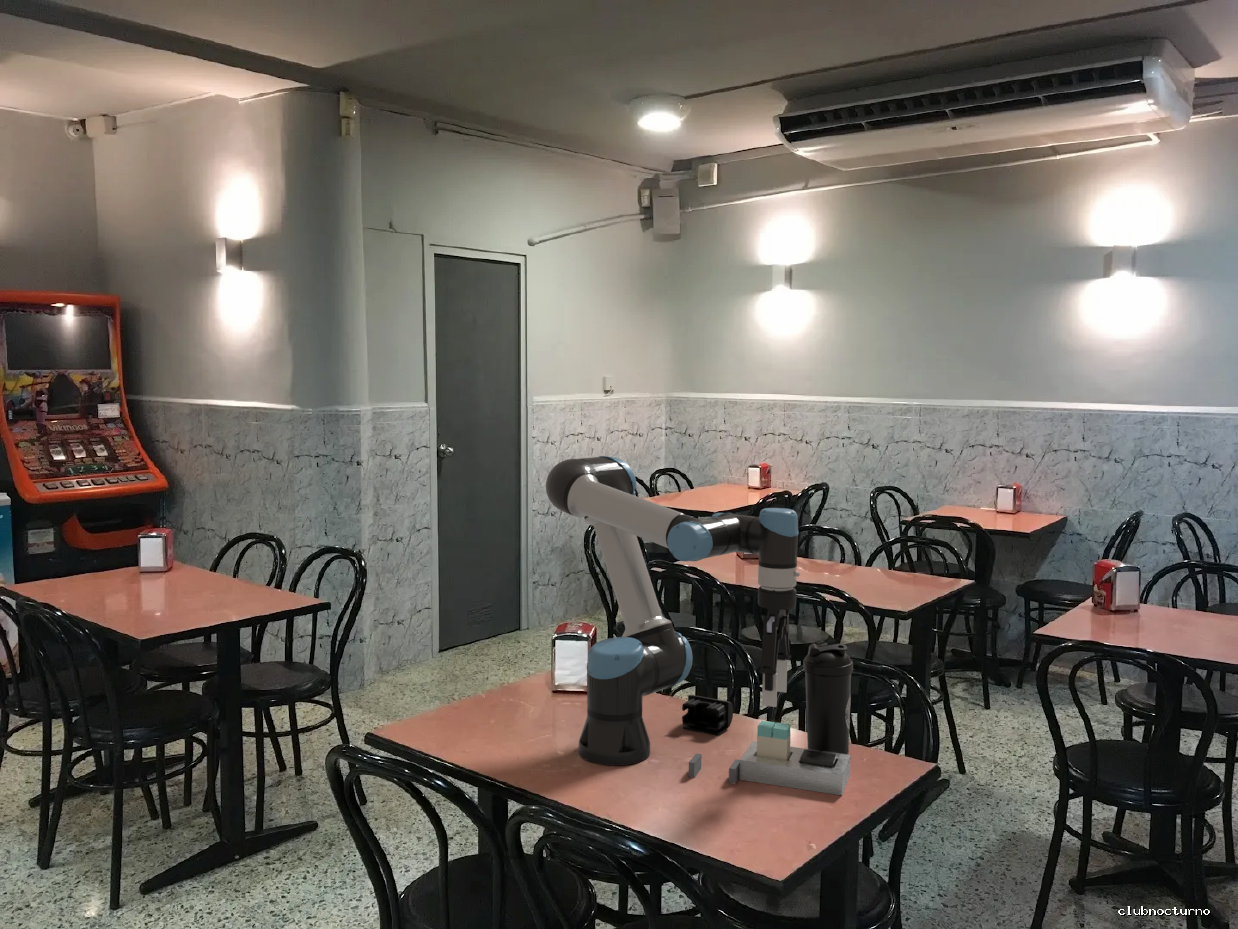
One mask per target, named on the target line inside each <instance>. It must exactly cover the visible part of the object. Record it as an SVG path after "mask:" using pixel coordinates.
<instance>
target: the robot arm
mask: <svg viewBox="0 0 1238 929" xmlns="http://www.w3.org/2000/svg"><path fill="white" fill-rule="evenodd" d="M636 489H637V479H636V476H635V473H634V471H633V469H632V468H631V466H630V465H629V464H628V463H627V462H626V461H625V460H623V459H621V458H619V457H616V456H607V455H599V456H598V457H597V456H594V457H585V458H584V457H583V458H581V457H580V458H569V459H565V460H562V461H561V462H558V463H557V464H556V465H554V466H553V467H552V468H551V469H550V472H549V473H548V475H547V477H546V481H545V492H546V495H547V498H548V500H549V502H550V503H551V504H552V505H553V506H554V507H555V508H556V509H557V510H559V511H560V512H563V513H565V514H568V515H570V516H573V517H575V518H581V519H582V518H584V519H583V520H584V522H585V523H587V524H589V525H591V526H592V527H593V529H594V531H595V535H596V537H597V541H598V544H599V548H600V550H601V553H602V556H603V560H604V563H605V566H606V569H607V573H608V576H609V580H610V583H611V585H612V589H613V591H614V595H615V599H616V601H617V604H618V608H619V611H620V614H621V618H622V620H623V624H624V627H625V629H624V632H623V633H622V636H618V637H617V636H616V637H615V638H613V637H609V638H606V639H602V640H600V641H597V642H595V643H594V644H593V645H592V646H591V647H590V649H589V650H588V655H587V656H588V657H587V664H586V673H587V674H586V679H587V680H586V682H587V683H586V685H587V686H586V689H587V690H586V693H587V694H586V695H587V698H586V699H587V700H586V701H587V702H586V705H587V709H586V713H587V714H586V719H585V722H584V725H583V728H582V730H581V734H580V736H579V739H578V755H579V756H580V757H581V758H582V759H584V760H585V761H587V762H590V763H594V764H598V765H606V766H624V765H632V764H636V763H640V762H642V761H644V760H646V759H647V758H649V756H650V755H651V740H650V737H649V733H648V731H647V728H646V724H645V722H644V718H643V697H645V696H649V695H651V694H655V693H657V692H661V691H663V690H667V689H670V688H673V687H674V686H676V685H678V684H680V683H681V682H683V681H684V680H686V678H687V677H688V675H689V674H690V670H691V669H692V666H693V651H692V647H691V644H690V643H689V641H688V639H687V638H686V637H685V636H683V635H682V633H680V632H677V631H675V629H674V626H673V623H672V621H671V620H670V619H667V618H665V617H664V616H663V614H662V610H661V608H660V605H659V601H658V599H657V595H656V592H655V590H654V586H653V583H652V580H651V577H650V573H649V570H648V568H647V564H646V561H645V557H644V556H643V552H642V549H641V546H640V543H639V540H638V537H639V538H641V539H643V540H647V541H649V542H651V543H654V544H657V545H659V546H661V547H664V548H667V549H668V550H669V552H670V553H671V554H672V556H673V557H674V559H676V560H678V561H680V562H698V561H701V560H703V559H708V558H713V557H717V556H719V557H720V556H722V555H729V554H734V553H745V554H752V555H758V567H757V568H758V570H757V584H758V585H759V587H758V588H757V604H758V606H759V607H761V608H763V609H766V610H767V616H766V615H765V617H764V620H763V622H762V642H761V645H762V646H761V658H760V660H761V661H760V668H759V669H758V673H759V674H762V688H761V689H762V696H761V697H762V698H761V699H762V700H761V703H762V704H761V705H762V706H763V707H771V708H772V707H773V708H777V706H778V705H777V704H778V701H777V700H778V693H785V694H786V693H787V689H788V688H787V687H788V686H787V684H788V660H789V661H790V660H792V654H790V652H791V650H790V620H789V619H790V610H792V609H794V608H796V605H797V589H796V588H795V587H796V586H797V577H800V576H801V573H800V572H799V571H797V570H798V568H797V566H798V561H797V560H798V541H799V540H798V539H799V523H798V520H799V518H798V513H797V512H796V511H795V510H793V509H792V508H791V509H790V508H785V507H784V508H783V507H765V508H763V509H761V510H760V512H759V515H758V516H752V515H745V514H744V515H743V514H737V513H733V512H716V513H713V514H712V515H711V517H709V518H704V519H700V518H697V517H694V516H691V515H688V514H685V513H683V512H680V511H677V510H675V509H672V508H670V507H666V506H664V505H661V504H658V503H657V502H653V501H650V500H647V499H644V498H642V497H639V496H636Z"/></svg>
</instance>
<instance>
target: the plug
mask: <svg viewBox="0 0 1238 929" xmlns="http://www.w3.org/2000/svg"><path fill="white" fill-rule="evenodd" d="M756 742H757V757H763V758H770V759H777V760H784V761H789V759H790V747H791V723H790V724H789V723H783V722H775V721H768V720H761V721H760V722H759V723H758V725H757V735H756Z"/></svg>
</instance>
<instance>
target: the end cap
mask: <svg viewBox="0 0 1238 929" xmlns="http://www.w3.org/2000/svg"><path fill="white" fill-rule="evenodd" d="M681 709H682V711H683V712H685V711H686V710H687V712H686V713H685V714H684V715H682V717H681V722H682V724H683V726H682V729H683V730H686V731H689V732H690V731H691V732H695V733H699V734H706V735H711V736H715V737H720V736H721V735H723V734H724V733H726V731H727V730H728V728H730V726H731V724H732V722H733V719H734V718H733V717H734V707H733V703H732V702H731V701H727V700H722V699H716V698H711V697H705V696H700V695H695V694H688V696H687V700H686V702H683V704H682V707H681Z"/></svg>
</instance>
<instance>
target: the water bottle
mask: <svg viewBox="0 0 1238 929" xmlns="http://www.w3.org/2000/svg"><path fill="white" fill-rule="evenodd" d="M847 652H848V647H847V645H846V644H843V643H834V644H828V645H823V646H818V645H817V644H816V643H811V644H809V646H808V652H807V655H806V656H805V657H804V659H803V665H802V666H803V667H802V668H803V671H804V672H805V673H804V675H805V703H806V709H805V710H806V733H807V737H806V739H807V749H812V750H819V751H826V752H833V753H840V754H847V755H849V751H850V750H849V748H850V746H849V745H850V726H851V725H850V723H851V718H850V717H851V715H850V714H851V689H852V688H851V687H852V686H851V685H852V684H851V680H852V673H853V671H854V662H853V660H852V659H851V657H850V655H849V654H847Z"/></svg>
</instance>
